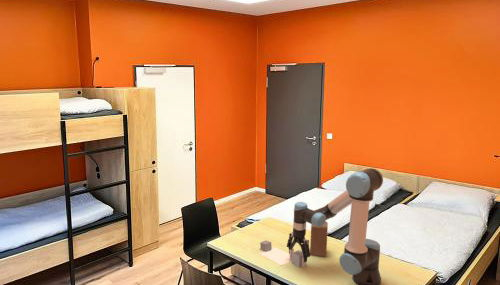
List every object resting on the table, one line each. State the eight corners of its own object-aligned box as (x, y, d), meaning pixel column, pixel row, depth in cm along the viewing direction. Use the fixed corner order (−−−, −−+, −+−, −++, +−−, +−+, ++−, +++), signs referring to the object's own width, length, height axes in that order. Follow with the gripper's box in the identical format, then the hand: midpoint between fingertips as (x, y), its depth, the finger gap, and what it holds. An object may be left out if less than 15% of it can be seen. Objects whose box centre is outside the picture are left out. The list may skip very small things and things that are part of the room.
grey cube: (271, 249, 247) (271, 242, 247) (265, 251, 244) (265, 244, 243) (266, 247, 251) (266, 240, 250) (260, 249, 248) (260, 242, 247)
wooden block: (326, 257, 238) (327, 227, 235) (309, 256, 240) (311, 225, 236) (326, 250, 248) (327, 221, 244) (310, 248, 250) (311, 219, 246)
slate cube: (306, 264, 230) (306, 253, 228) (299, 267, 226) (299, 256, 224) (298, 260, 234) (298, 250, 233) (291, 263, 230) (292, 253, 229)
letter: (297, 258, 236) (297, 258, 236) (281, 266, 227) (281, 265, 227) (274, 247, 251) (275, 247, 251) (258, 253, 242) (258, 253, 242)
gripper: (318, 233, 220) (315, 268, 225) (290, 220, 237) (288, 253, 241) (309, 236, 215) (307, 272, 220) (281, 223, 232) (280, 257, 237)
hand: (297, 262), depth 231 cm, fingers open, 10 cm apart
